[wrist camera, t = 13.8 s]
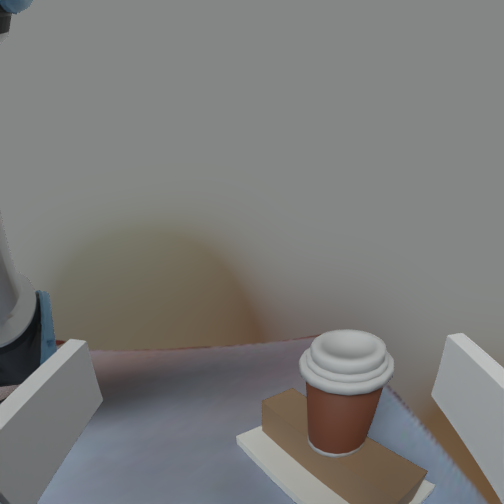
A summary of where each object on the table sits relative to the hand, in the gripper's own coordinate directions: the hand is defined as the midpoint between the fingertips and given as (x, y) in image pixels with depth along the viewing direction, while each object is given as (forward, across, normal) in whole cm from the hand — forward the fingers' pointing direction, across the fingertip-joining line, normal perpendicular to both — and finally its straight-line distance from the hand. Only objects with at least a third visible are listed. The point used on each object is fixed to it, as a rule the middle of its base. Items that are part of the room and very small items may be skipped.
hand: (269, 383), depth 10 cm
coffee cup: (+16, +8, -20) cm, 26 cm away
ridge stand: (+16, +8, -27) cm, 32 cm away
